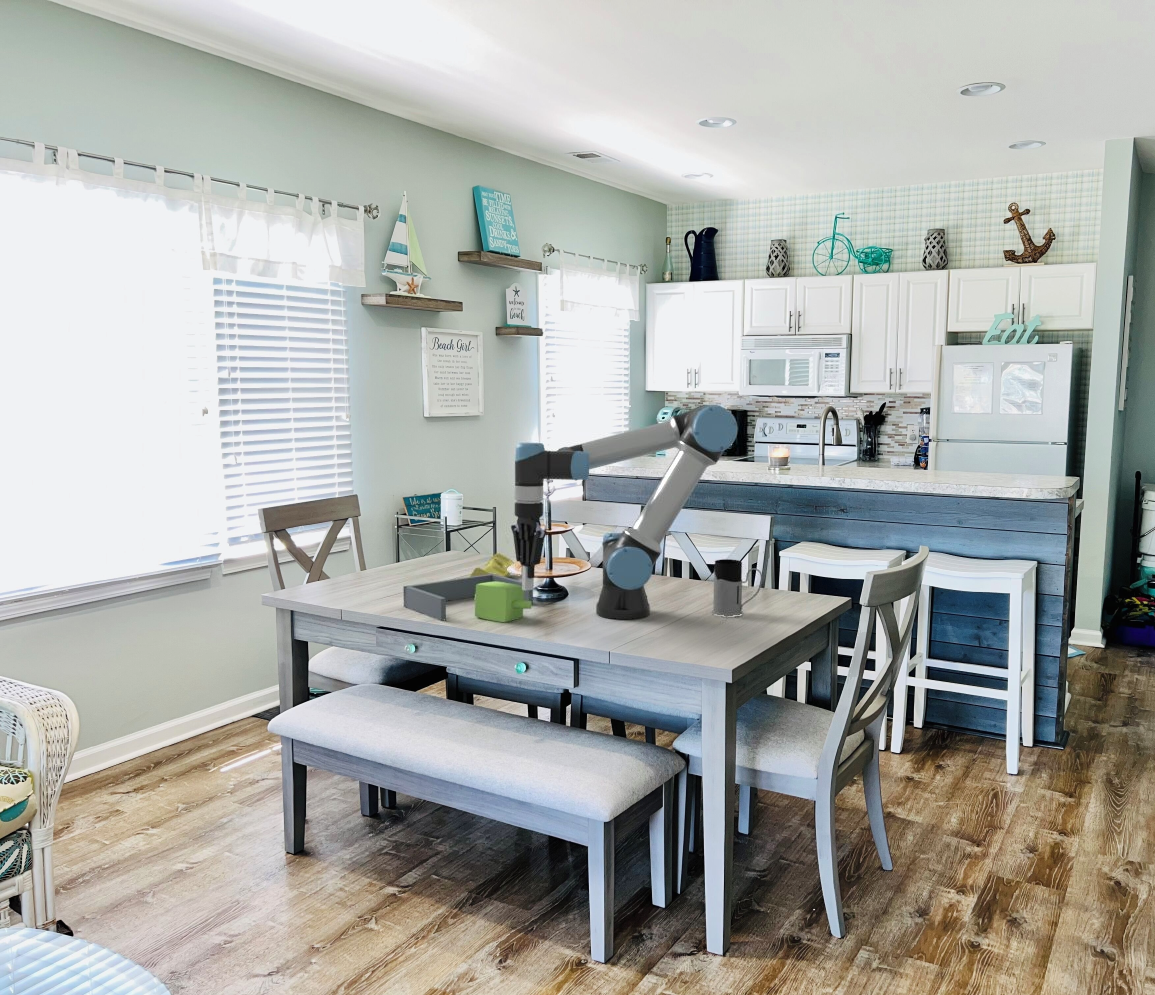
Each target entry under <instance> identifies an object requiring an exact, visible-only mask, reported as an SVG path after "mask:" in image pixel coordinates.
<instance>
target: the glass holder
mask: <svg viewBox="0 0 1155 995" xmlns="http://www.w3.org/2000/svg"><path fill="white" fill-rule="evenodd" d="M742 566H743V561H741V560H737V559H728V558H725V559H724V558H723V559H715V560H714V568H713V602H712V603H713V605H712V607H713V608H712V609H713V610H712V611H711V614H712V613H713V614H717V615H724V616H733V615H740V614H742V613H743V606H744V605H746V604H747V603H748V602H750V601H751V600H752V599H753V598H755V597H756V596H757V595H758V594H759V592H760V590H761V588H762V584H763V573H762V571H761V570H760V569H758V568H750V569H748V571H747V573H746V576H745V578H746V579H745V580H744V581H743V579H742V573H743V567H742ZM753 570H755V571H757V572H758V573H759V574H760V583H759V587H758V588H757V590H756V592H755V594H753V596H751V597H750V598H748V599H747V600H745V601H744V602H742V601H743V600H742V599H743V598H742V597H743V584H745V583H747V582H748V580H749V574H750V572H751V571H753Z"/></svg>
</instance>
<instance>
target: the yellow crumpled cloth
mask: <svg viewBox="0 0 1155 995" xmlns="http://www.w3.org/2000/svg"><path fill="white" fill-rule="evenodd" d="M514 563H515V562H514V561H513V560H511V558H509V557H507V556H506V555H503V554H502V553H500V552H496V553H495V554H493V556H492V557H491V558H490V559H489V561H488V562H487V563H486V564H485V565H484V567H482V568H481V567H479V566H478V567H476V568H474V570H473V571H472V573H471V574H470V575H469V577H473V576H480V575H487V574H496V575H500V576H503V577H507V578H510V577H509V576H510V574H511V573H509V572H508V571H507V568H508V567H509V566H511V565H513V564H514Z"/></svg>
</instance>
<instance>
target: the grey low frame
mask: <svg viewBox="0 0 1155 995" xmlns="http://www.w3.org/2000/svg"><path fill="white" fill-rule="evenodd" d="M494 581H496V582H504V583H510V584H515V585H520V586H522V580H517V579H514V578H510V577H508V578H507V577H503V576H500V575H496V574H487V575H480V576H473V577H470V576H468V577H460V578H452V579H445V580H444V579H443V580H438V581H431V582H424V583H417V584H410V585H403V589H402V590H403V607H404V608H406V607H407V608H406V609H409V610H411V611H415V612H418V613H420V614H422V615H425V616H428V617H431V618H433V619H436V618H437V620H439V621H445V620H444V619H446V620H447V606H446V605H447V603H446V602H449V601H448V600H451V601H456V600H455V599H457V600H462V599H461V598H464V599H468V598H467V597H470V598H475V597H474V596H475V594H476V585H477V584H480V583H486V582H494ZM524 601H531V604H533V605H534V589H533V590H527V591H525V590H524Z"/></svg>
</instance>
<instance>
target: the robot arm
mask: <svg viewBox="0 0 1155 995" xmlns="http://www.w3.org/2000/svg"><path fill="white" fill-rule="evenodd" d="M737 435H738V423H737V421H736V417H735V416H734V414H732V412H730V411H729V410H728V409H727V408H726V407H723V406H721V405H718V404H705V405H704V404H703V405H699V406H697V407H694V408H692V409H690V410H688V411H684V412H682V413H679V414H675V415H672V416H670V418H669V419H668V420H667V421H662V422H658V423H655V424H651V425H648V426H644V427H640V428H636V429H633V430H629V431H625V432H621V433H620V432H619V433H617V434H612V435H610V436H607V437H602V438H598V439H595V440H591V441H586V442H583V443H580V444H575V445H572V446H564V447H561V448H558V449H557V450H548V449H547V450H545V445H544V444H543V443H541V442H519V443H518V444H517V445H516V446H515V454H514V455H515V456H514V457H515V458H514V500H515V503H514V516H515V517H517V520H516V524H512V525H511V526H510V528H511V532H512V535H513V536H512V537H513V541H514V542H513V545H514V551H515V552H514V553H515V560H516V562H519V563H520V565H521V581H522V590H525V591H527V590H533V591H534V587H535V585H534V579H535V567H536V566H537V565H540V564H541V561H542V556H543V555H542V554H543V548H544V542H545V537H546V536H547V530H546V529H543V528H542V527H541V520H540V518H541V517H543V515H544V503H543V500H544V480H562V481H563V480H566V481H567V480H568V481H570V480H571V481H581V480H583V481H585V480H587V479H588V478H589V476H590V470H593V469H596V468H600V467H604V466H608V465H612V464H617V463H620V462H624V461H628V460H631V459H636V458H641V457H643V456H647V455H651V454H654V453H659V452H663V451H666V450H671V449H674V448H675V449H677V450H678V452H677V453H676V455H675V457H674V458H673V460H672V462H671V463H670V464H669V466H668V468H667V470H666V471H665V473H664V475H663V476H662V478H661V479H660V481H659V483H658V484H657V486H656V487H655V489H654V491H653V492H652V495H651V496H650V498H649V499H648V501H647V503H646V504H645V505H644V507H643V509H642V510H641V513H640V514H639V515H638V517H637V518H636V521H635V522H634V524H633V525H632V527H628V528H624V529H623V531H622V532H607V533H605V534H604V535H603V538H602V543H601V544H602V585H601V586H602V587H601V590H600V594H599V597H598V601H597V603H596V606H595V613H596V615H598V616H599V617H603V618H606V619H612V618H616V619H615V620H633V619H632V618H637V619H642V617H643V618H646V617H648V616H649V615H651V614H650V613H651V610H650V609H651V607H650V603H649V601H648V600H649V599H648V596H647V592H646V589H645V585H646V584H647V583H648V582H649V580H651V577H652V574H653V569H654V566H655V564H656V562H657V561H658V559H659V557H660V555H661V554H662V548H661V543H662V541H663V539H664V538H665V537H666V535H667V533H668V532H669V531H670V528H671V527H672V525H673V523H674V522H675V520H676V519H677V517H678V515H679V514H680V512H681V510H682V508H684V506H685V504H686V502H687V501H688V499H689V497H691V495H692V493H693V491H694V489H695V488H696V486H697V484H698V483H699V481H700V480H701V478H702V476H703V475H704V473H705V471H706V470H707V468H708V467H710V466H715V465H717V463H718V461H719V460H720V458H721V456H722V454H724V452H725V450H727V449H729V448H731V446H732V445H733V443H734V442H735V440H736V438H737ZM645 616H646V617H645Z"/></svg>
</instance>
